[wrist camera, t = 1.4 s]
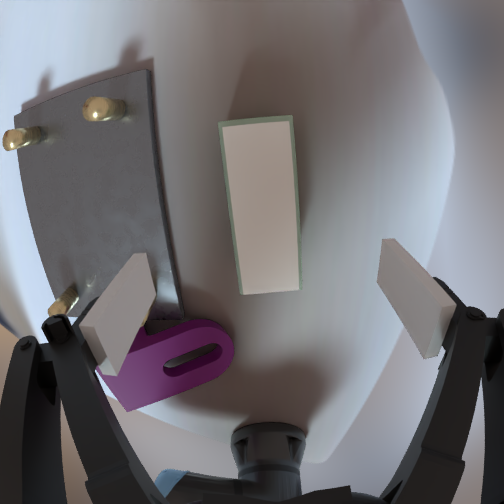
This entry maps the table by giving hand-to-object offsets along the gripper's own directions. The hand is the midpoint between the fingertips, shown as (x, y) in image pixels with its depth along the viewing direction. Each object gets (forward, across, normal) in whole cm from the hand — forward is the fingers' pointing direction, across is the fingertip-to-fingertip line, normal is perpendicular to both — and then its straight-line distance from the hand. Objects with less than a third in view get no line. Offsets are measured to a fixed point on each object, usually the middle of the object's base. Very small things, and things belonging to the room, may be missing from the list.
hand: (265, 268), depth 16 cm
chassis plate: (+17, +21, 0) cm, 27 cm away
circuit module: (+17, 0, 0) cm, 17 cm away
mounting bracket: (+17, +14, +20) cm, 30 cm away
